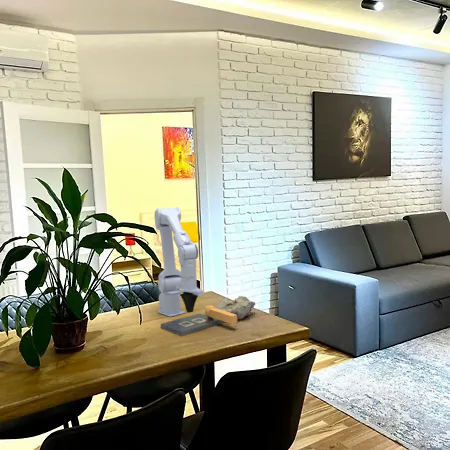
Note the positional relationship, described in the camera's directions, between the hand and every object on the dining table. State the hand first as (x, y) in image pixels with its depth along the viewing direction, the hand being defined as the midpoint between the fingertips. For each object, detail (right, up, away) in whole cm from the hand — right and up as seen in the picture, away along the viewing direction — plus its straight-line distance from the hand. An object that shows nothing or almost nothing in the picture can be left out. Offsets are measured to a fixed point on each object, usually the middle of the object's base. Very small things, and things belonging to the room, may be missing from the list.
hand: (190, 311), depth 174 cm
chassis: (0, -6, +2) cm, 6 cm away
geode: (+17, -5, +13) cm, 22 cm away
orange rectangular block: (+11, -3, +2) cm, 12 cm away
